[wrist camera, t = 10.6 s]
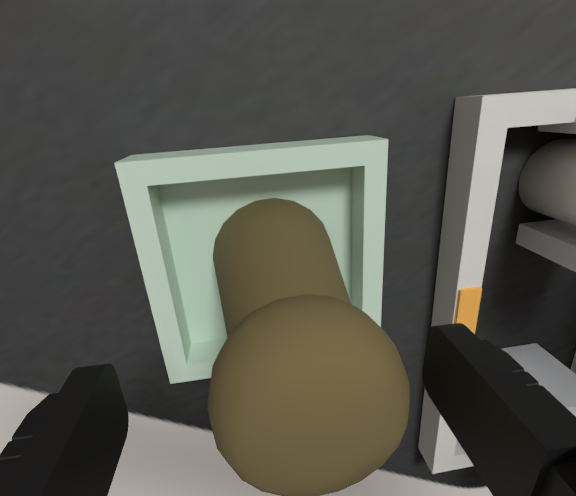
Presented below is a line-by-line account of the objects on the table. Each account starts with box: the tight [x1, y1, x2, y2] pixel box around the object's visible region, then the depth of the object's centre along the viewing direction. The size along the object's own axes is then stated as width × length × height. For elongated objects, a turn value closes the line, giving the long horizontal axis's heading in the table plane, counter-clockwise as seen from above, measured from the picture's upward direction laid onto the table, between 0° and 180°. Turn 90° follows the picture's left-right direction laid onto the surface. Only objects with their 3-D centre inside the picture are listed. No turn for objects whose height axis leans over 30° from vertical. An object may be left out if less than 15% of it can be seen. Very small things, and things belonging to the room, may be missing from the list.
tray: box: [115, 135, 388, 384], centre depth 17 cm, size 11×11×2 cm
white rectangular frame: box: [418, 88, 576, 474], centre depth 20 cm, size 24×12×5 cm, turn 4°
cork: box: [207, 198, 410, 496], centre depth 13 cm, size 6×6×11 cm
